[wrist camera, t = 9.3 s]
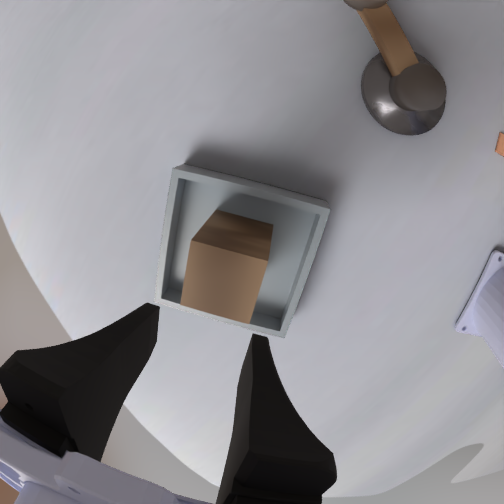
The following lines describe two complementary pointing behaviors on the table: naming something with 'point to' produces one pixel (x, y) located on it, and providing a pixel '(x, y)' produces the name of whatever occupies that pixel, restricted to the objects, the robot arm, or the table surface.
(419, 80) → the crank lever
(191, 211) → the tray
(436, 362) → the table surface
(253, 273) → the block
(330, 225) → the table surface
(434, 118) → the crank base
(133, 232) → the table surface
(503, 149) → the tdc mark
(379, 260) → the table surface
